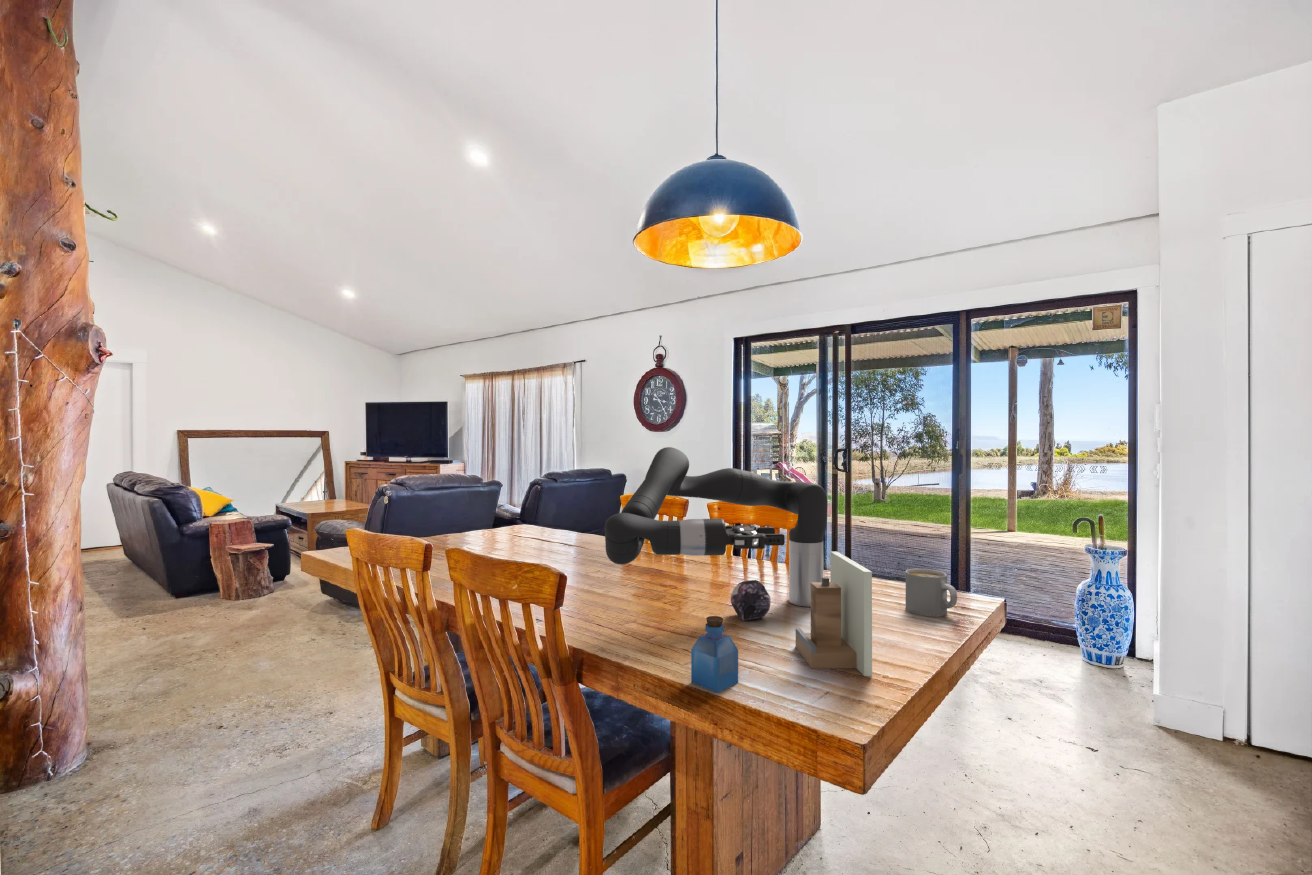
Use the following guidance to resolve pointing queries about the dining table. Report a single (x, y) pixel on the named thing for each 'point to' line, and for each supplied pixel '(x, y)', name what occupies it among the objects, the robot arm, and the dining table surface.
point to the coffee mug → (928, 592)
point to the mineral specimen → (750, 600)
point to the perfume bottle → (714, 658)
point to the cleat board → (846, 621)
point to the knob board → (825, 613)
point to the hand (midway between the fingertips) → (779, 535)
